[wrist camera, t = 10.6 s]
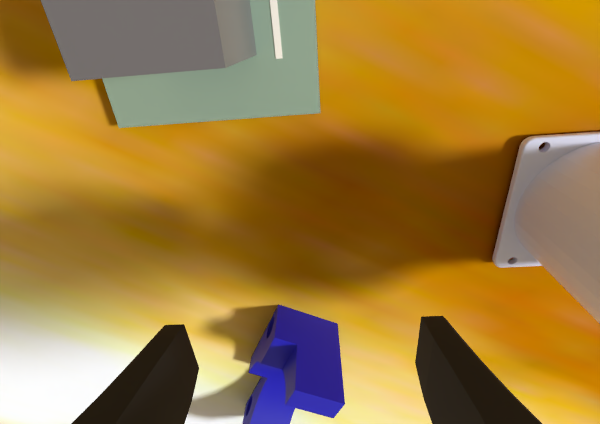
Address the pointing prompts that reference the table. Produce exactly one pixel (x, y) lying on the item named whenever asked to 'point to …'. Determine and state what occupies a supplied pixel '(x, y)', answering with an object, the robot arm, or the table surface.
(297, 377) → the cable clip
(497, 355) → the table surface
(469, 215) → the table surface
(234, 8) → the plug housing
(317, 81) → the board
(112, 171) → the table surface
